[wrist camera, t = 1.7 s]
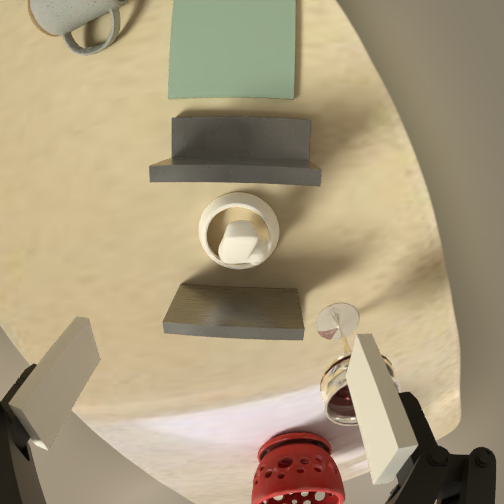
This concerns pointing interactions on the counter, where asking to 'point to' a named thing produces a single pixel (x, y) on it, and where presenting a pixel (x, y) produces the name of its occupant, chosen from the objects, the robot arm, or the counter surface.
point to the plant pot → (297, 471)
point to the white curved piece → (240, 232)
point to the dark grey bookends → (239, 171)
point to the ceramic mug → (74, 19)
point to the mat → (232, 49)
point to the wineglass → (341, 364)
